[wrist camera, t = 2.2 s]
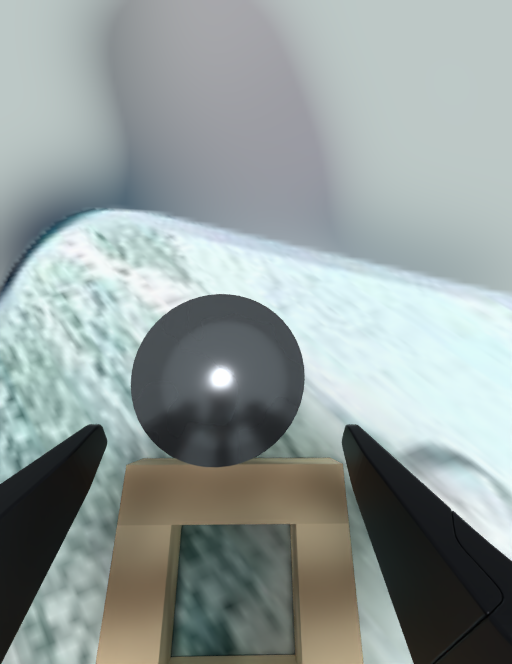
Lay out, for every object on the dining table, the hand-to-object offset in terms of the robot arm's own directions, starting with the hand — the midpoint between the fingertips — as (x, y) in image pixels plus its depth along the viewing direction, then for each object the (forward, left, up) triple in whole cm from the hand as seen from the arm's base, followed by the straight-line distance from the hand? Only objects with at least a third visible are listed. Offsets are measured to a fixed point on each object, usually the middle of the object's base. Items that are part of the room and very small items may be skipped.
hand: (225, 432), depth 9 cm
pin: (+2, -1, -9) cm, 9 cm away
